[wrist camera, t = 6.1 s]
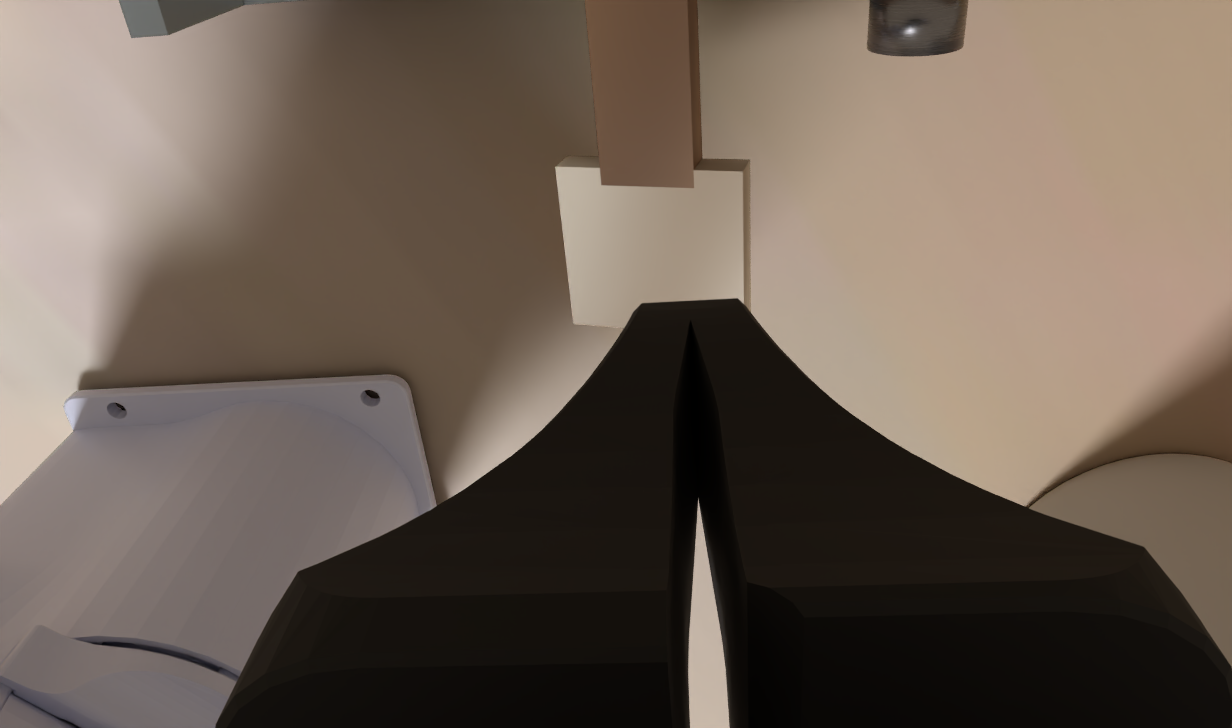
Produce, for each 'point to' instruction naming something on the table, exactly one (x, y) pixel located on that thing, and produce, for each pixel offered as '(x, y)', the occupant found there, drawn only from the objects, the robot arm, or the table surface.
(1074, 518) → the mug
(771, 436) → the robot arm
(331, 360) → the table surface
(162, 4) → the grey open box
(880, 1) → the stand
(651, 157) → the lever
